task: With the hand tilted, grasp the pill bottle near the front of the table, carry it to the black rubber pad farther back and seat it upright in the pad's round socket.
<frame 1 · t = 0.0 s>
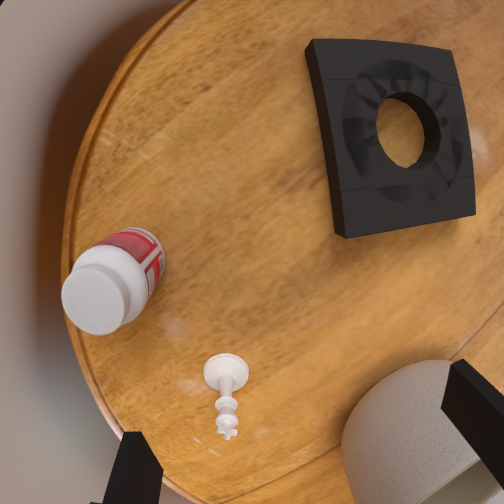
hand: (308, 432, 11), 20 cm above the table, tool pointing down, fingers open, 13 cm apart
chess piece: (226, 370, 33), on the table
black pad: (395, 133, 27), on the table
pill bottle: (136, 257, 29), on the table
planter: (396, 402, 36), on the table
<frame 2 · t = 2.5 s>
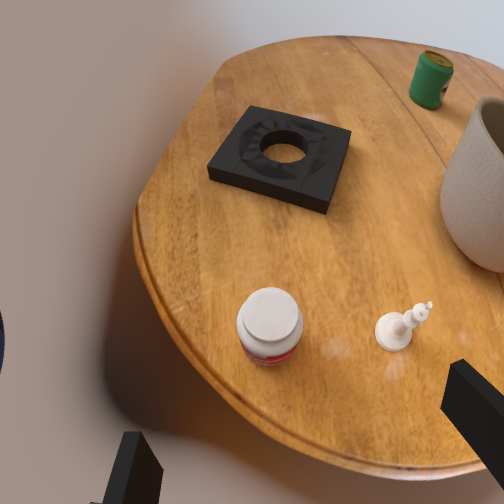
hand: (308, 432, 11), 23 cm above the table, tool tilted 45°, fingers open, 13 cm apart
chess piece: (392, 332, 35), on the table
black pad: (283, 158, 48), on the table
pill bottle: (268, 341, 36), on the table
beverage can: (423, 100, 57), on the table
planter: (476, 230, 41), on the table
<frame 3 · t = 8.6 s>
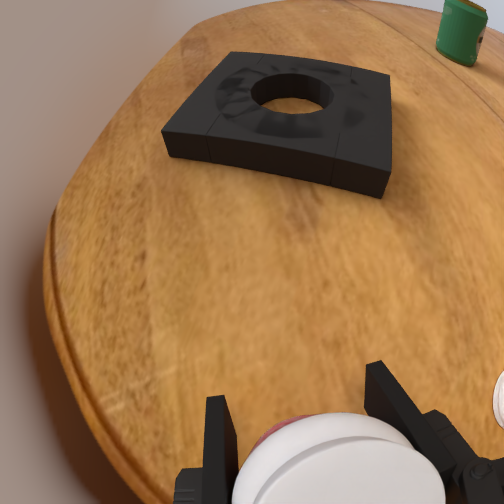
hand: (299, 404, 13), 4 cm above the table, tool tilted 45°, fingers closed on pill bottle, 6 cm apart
black pad: (291, 116, 28), on the table
pill bottle: (305, 466, 14), on the table, touching gripper
beverage can: (454, 57, 39), on the table
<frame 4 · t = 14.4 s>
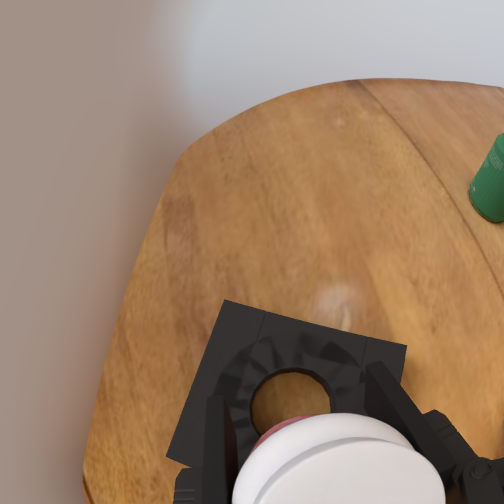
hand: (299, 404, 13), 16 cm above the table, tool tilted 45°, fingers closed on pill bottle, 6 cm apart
black pad: (291, 409, 27), on the table
pill bottle: (305, 466, 14), point 13 cm above the table, touching gripper
beverage can: (487, 204, 37), on the table
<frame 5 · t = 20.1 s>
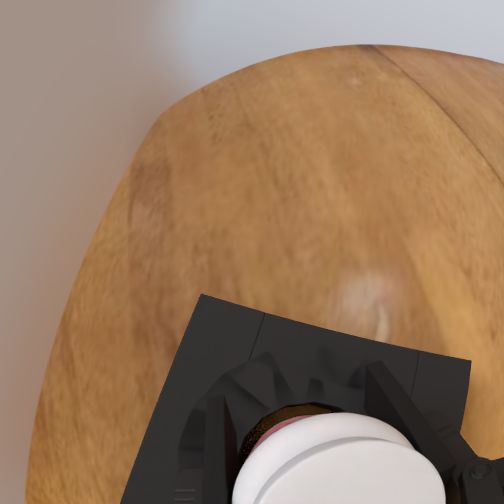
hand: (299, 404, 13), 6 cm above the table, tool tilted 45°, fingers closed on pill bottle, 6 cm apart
black pad: (301, 459, 16), on the table
pill bottle: (305, 466, 14), point 2 cm above the table, touching gripper
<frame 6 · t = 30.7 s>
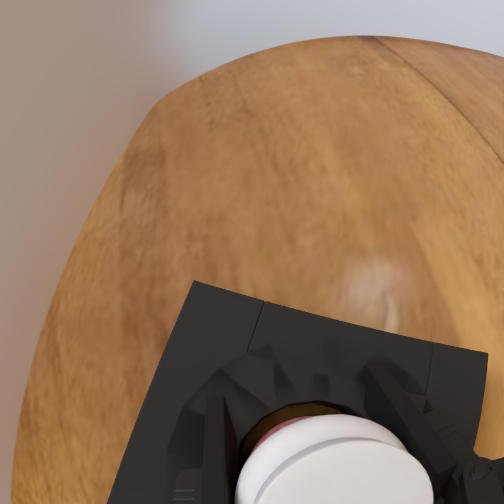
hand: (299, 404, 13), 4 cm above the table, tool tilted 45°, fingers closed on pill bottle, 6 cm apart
black pad: (305, 464, 14), on the table
pill bottle: (304, 465, 15), resting in black pad, touching gripper
when the fingers open (7 cm above the table, at t = 31.7 s): pill bottle drops 3 cm, resting in black pad.
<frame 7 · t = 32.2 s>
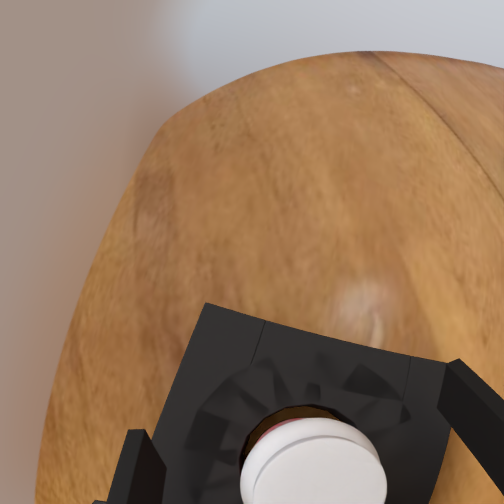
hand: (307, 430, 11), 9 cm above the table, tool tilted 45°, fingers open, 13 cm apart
black pad: (300, 458, 17), on the table
pill bottle: (298, 459, 17), resting in black pad
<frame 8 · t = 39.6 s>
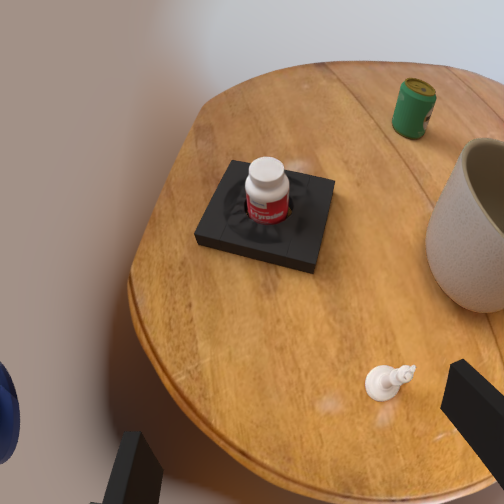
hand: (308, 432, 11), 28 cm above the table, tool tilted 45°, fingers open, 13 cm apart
chess piece: (382, 383, 36), on the table
black pad: (269, 216, 50), on the table
pill bottle: (268, 217, 50), resting in black pad
beverage can: (407, 129, 61), on the table
planter: (463, 268, 43), on the table
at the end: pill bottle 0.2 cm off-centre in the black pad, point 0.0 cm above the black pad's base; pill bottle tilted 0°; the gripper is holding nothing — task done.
